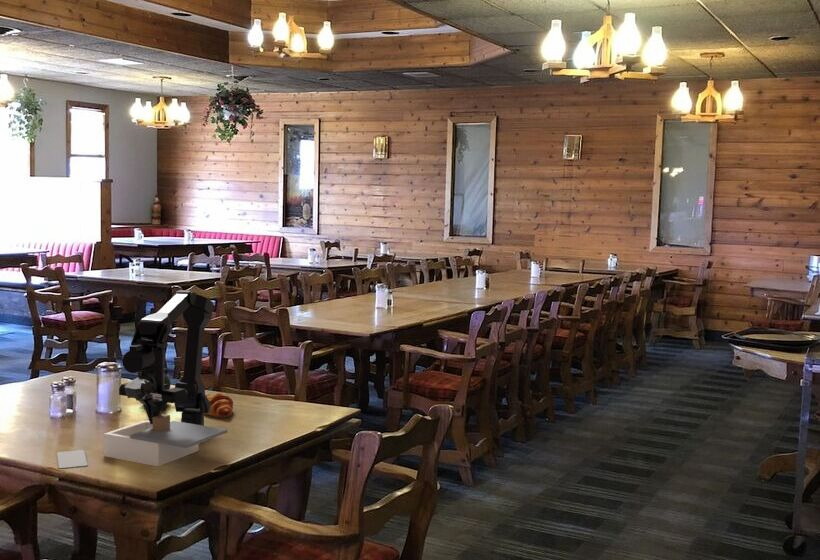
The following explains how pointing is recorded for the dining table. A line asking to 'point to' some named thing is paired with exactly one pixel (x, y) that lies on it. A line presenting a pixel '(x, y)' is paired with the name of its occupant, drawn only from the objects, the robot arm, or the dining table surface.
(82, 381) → the dining table surface
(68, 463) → the smartphone
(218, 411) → the croissant
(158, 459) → the lidded box
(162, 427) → the lid
